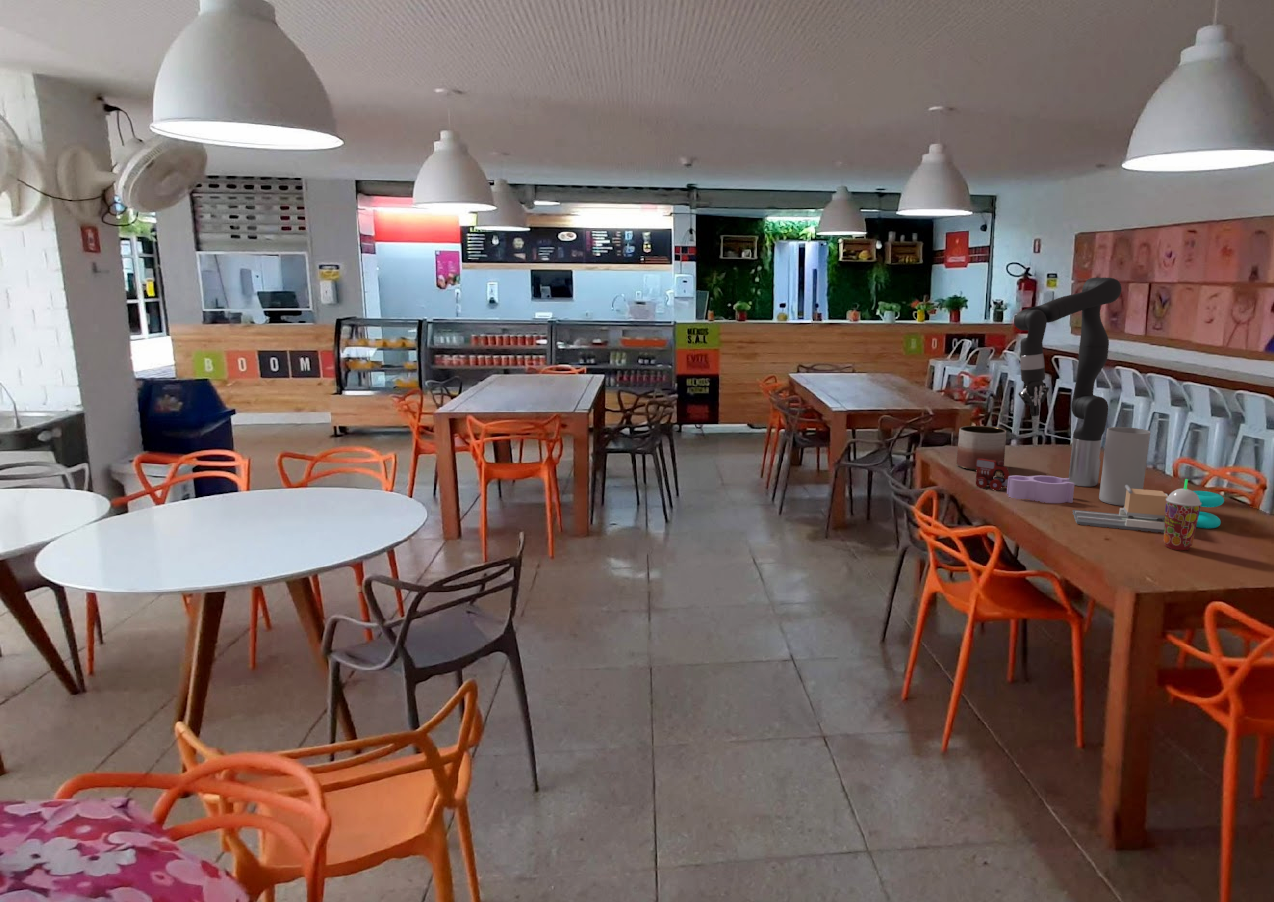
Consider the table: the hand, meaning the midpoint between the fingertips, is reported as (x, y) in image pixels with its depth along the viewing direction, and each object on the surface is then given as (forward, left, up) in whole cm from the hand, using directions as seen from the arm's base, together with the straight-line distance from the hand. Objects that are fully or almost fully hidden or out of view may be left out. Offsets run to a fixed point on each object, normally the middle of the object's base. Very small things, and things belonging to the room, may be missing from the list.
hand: (1035, 415), depth 284 cm
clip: (+4, +9, -28) cm, 30 cm away
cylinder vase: (-17, +23, -28) cm, 40 cm away
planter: (-13, -36, -28) cm, 47 cm away
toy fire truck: (+8, -9, -28) cm, 30 cm away
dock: (+5, +40, -28) cm, 49 cm away
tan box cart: (+1, +44, -26) cm, 51 cm away
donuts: (-16, +51, -28) cm, 60 cm away
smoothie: (+12, +63, -28) cm, 70 cm away
